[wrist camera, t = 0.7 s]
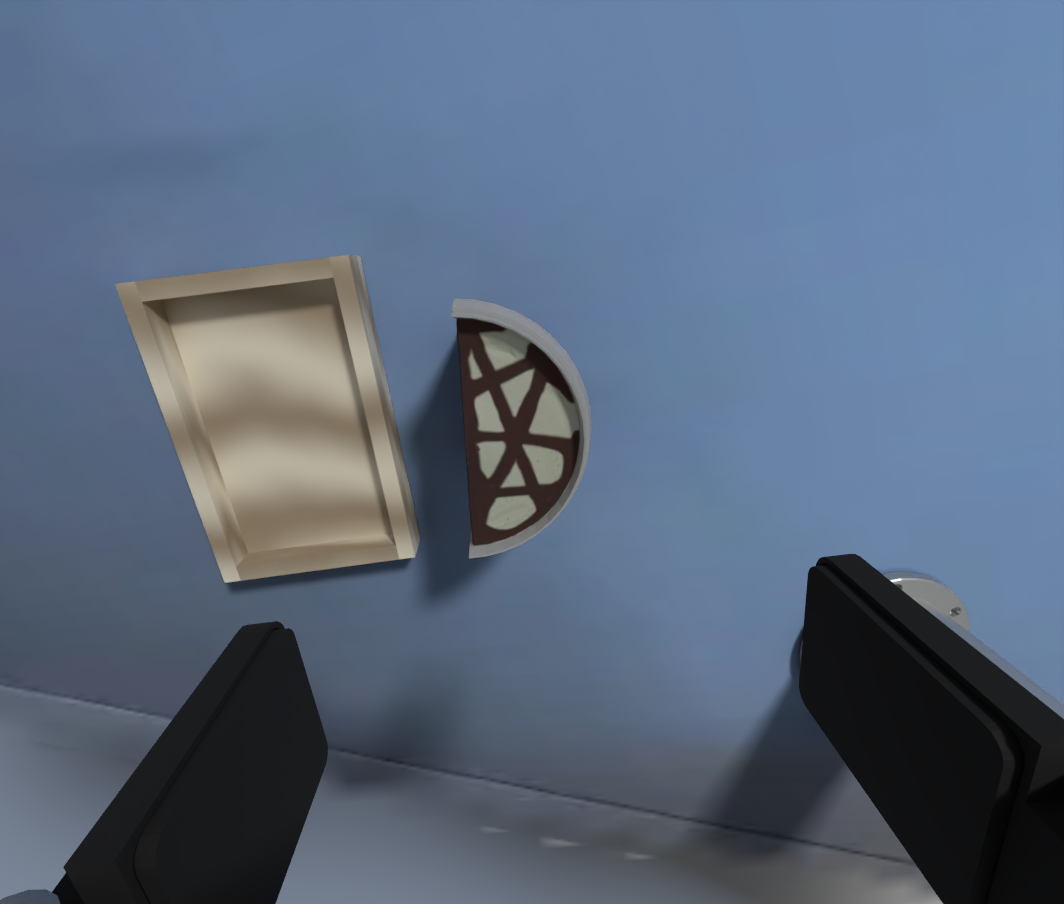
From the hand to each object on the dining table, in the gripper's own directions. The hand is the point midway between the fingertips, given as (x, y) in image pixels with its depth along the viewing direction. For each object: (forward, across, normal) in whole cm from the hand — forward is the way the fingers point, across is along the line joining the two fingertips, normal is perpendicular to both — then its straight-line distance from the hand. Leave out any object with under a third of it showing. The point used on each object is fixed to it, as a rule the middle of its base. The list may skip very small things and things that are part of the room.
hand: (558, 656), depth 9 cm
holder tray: (+24, +14, +1) cm, 28 cm away
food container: (+24, 0, 0) cm, 25 cm away
